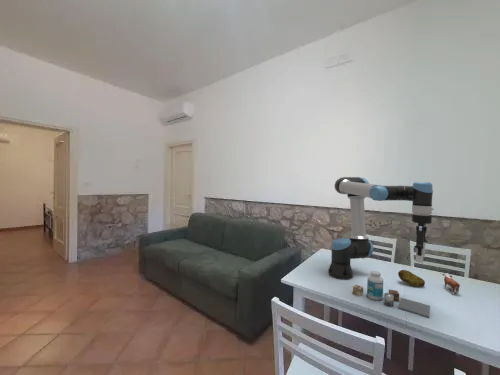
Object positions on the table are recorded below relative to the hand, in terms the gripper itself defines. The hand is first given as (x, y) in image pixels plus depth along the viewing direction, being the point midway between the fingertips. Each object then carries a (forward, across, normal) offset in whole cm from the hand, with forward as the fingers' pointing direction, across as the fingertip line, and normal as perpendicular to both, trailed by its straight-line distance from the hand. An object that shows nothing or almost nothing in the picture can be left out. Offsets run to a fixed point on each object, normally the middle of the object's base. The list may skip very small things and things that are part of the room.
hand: (420, 258), depth 111 cm
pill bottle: (+25, -1, +19) cm, 31 cm away
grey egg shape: (+25, -4, +12) cm, 28 cm away
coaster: (+25, 0, +2) cm, 25 cm away
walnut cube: (+25, +4, +11) cm, 27 cm away
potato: (+25, +30, +6) cm, 40 cm away
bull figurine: (+25, +36, -12) cm, 46 cm away
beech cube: (+25, -3, +27) cm, 37 cm away
